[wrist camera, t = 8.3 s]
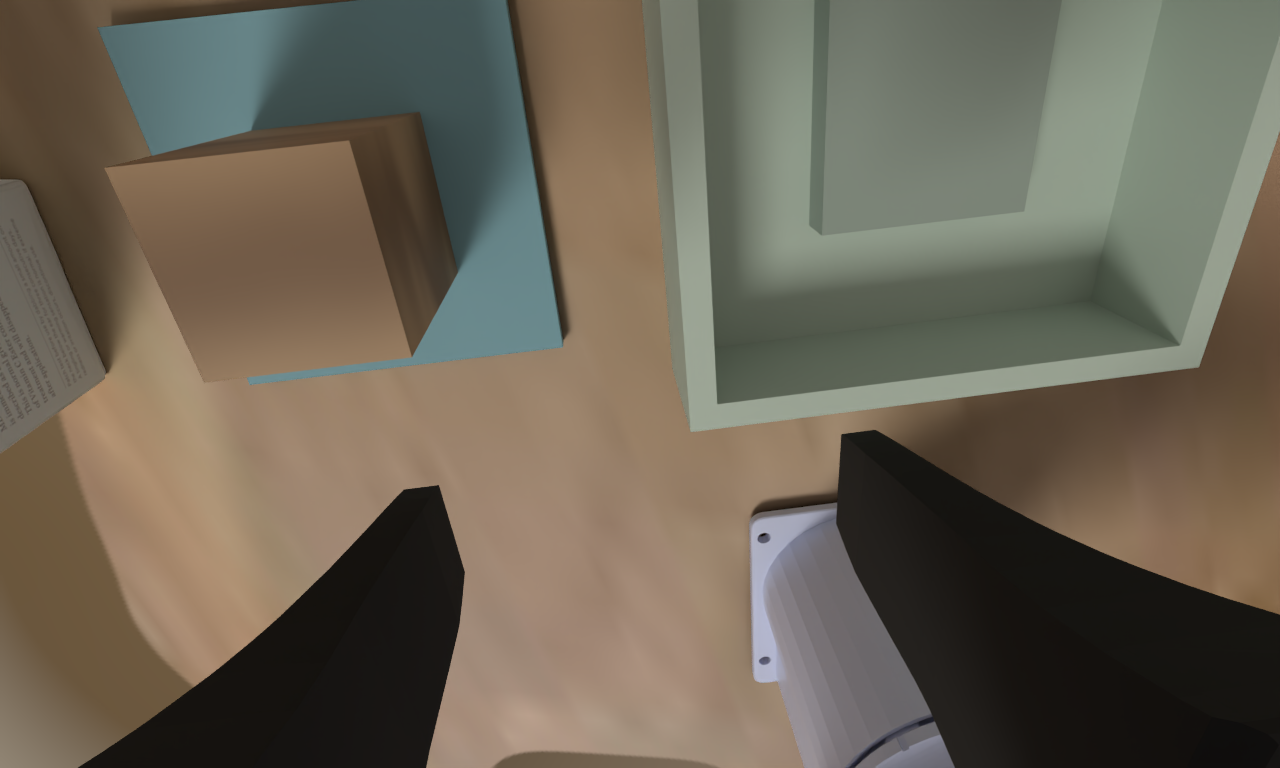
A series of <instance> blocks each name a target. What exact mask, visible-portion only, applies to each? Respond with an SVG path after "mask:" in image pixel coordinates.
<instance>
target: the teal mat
mask: <svg viewBox="0 0 1280 768" xmlns="http://www.w3.org/2000/svg"><path fill="white" fill-rule="evenodd" d="M97 28H98V30H99V33H100V35H101V37H102V40H103V42H104V44H105V47H106V49H107V51H108V54H109V56H110V58H111V61H112V63H113V65H114V68H115V70H116V72H117V75H118V77H119V79H120V82H121V84H122V87H123V89H124V91H125V94H126V96H127V98H128V101H129V103H130V105H131V108H132V110H133V112H134V115H135V117H136V119H137V122H138V124H139V126H140V129H141V131H142V133H143V136H144V138H145V140H146V143H147V145H148V147H149V150H150V152H151V154H152V156H153V155H157V154H161V153H165V152H169V151H173V150H177V149H181V148H185V147H189V146H193V145H197V144H200V143H204V142H208V141H212V140H216V139H220V138H224V137H228V136H232V135H236V134H240V133H244V132H248V131H253V130H262V129H271V128H280V127H289V126H298V125H306V124H315V123H324V122H333V121H342V120H351V119H360V118H369V117H378V116H387V115H396V114H405V113H414V112H420V114H421V119H422V123H423V127H424V131H425V135H426V140H427V144H428V148H429V152H430V157H431V161H432V165H433V169H434V173H435V178H436V182H437V186H438V190H439V195H440V199H441V203H442V207H443V211H444V216H445V220H446V224H447V228H448V233H449V237H450V241H451V245H452V249H453V254H454V258H455V262H456V266H457V270H458V274H457V276H456V277H455V279H454V281H453V283H452V285H451V287H450V288H449V290H448V292H447V294H446V296H445V298H444V300H443V301H442V303H441V305H440V307H439V309H438V311H437V312H436V314H435V316H434V318H433V320H432V322H431V323H430V325H429V327H428V329H427V331H426V333H425V334H424V336H423V338H422V340H421V342H420V344H419V345H418V347H417V349H416V351H415V353H414V355H413V357H411V358H403V359H395V360H386V361H378V362H370V363H362V364H353V365H345V366H337V367H329V368H321V369H312V370H304V371H296V372H288V373H279V374H271V375H263V376H255V377H247V379H248V382H249V384H250V385H252V384H261V383H269V382H277V381H286V380H294V379H302V378H311V377H319V376H327V375H336V374H344V373H352V372H361V371H369V370H377V369H386V368H394V367H402V366H411V365H419V364H428V363H436V362H444V361H453V360H461V359H469V358H478V357H486V356H494V355H503V354H511V353H519V352H528V351H536V350H544V349H553V348H561V347H563V336H562V330H561V324H560V318H559V312H558V306H557V300H556V293H555V287H554V281H553V275H552V269H551V263H550V257H549V251H548V245H547V239H546V233H545V227H544V220H543V214H542V208H541V202H540V196H539V190H538V184H537V178H536V172H535V166H534V160H533V153H532V147H531V141H530V135H529V129H528V123H527V117H526V111H525V105H524V99H523V93H522V86H521V80H520V74H519V68H518V62H517V56H516V50H515V44H514V38H513V32H512V26H511V20H510V13H509V7H508V1H507V0H356V1H347V2H337V3H327V4H318V5H308V6H299V7H289V8H280V9H270V10H260V11H251V12H241V13H232V14H222V15H212V16H203V17H193V18H184V19H174V20H164V21H155V22H145V23H136V24H126V25H116V26H107V27H97Z"/></svg>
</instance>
